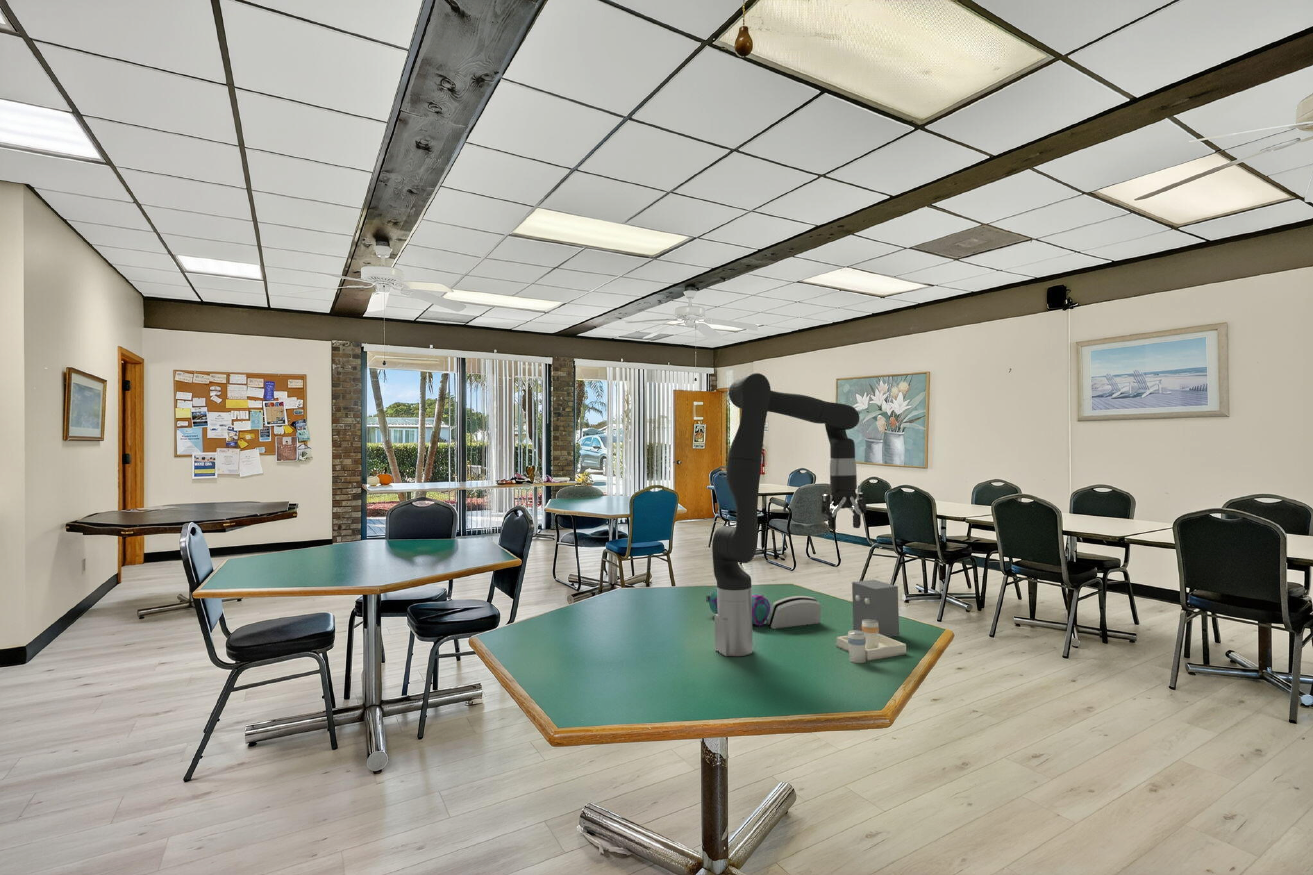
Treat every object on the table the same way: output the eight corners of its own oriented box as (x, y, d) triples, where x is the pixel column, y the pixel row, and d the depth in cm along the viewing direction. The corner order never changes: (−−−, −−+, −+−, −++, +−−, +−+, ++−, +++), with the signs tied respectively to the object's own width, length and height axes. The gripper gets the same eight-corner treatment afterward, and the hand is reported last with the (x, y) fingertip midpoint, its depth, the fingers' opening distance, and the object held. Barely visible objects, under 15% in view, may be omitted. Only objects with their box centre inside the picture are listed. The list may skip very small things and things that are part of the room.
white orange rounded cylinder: (869, 651, 160) (868, 624, 161) (858, 646, 165) (858, 620, 165) (882, 649, 162) (882, 622, 162) (872, 644, 166) (871, 618, 166)
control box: (874, 639, 172) (873, 589, 172) (851, 629, 182) (850, 582, 182) (900, 635, 175) (899, 586, 176) (876, 626, 185) (874, 579, 185)
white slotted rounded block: (812, 618, 194) (817, 591, 191) (819, 627, 190) (825, 599, 187) (764, 624, 189) (769, 595, 186) (771, 633, 185) (776, 604, 182)
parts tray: (867, 660, 155) (867, 650, 155) (836, 646, 167) (836, 637, 167) (906, 654, 159) (906, 644, 160) (873, 640, 171) (873, 631, 171)
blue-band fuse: (854, 664, 153) (853, 635, 153) (845, 658, 157) (844, 631, 157) (869, 662, 154) (868, 634, 154) (860, 656, 158) (859, 629, 158)
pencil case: (705, 616, 200) (705, 586, 200) (724, 611, 206) (724, 582, 206) (753, 629, 184) (753, 597, 184) (773, 624, 190) (772, 592, 190)
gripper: (854, 472, 187) (855, 526, 186) (815, 474, 182) (816, 529, 181) (871, 473, 180) (872, 528, 179) (831, 474, 175) (832, 531, 174)
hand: (844, 528), depth 180 cm, fingers open, 8 cm apart
